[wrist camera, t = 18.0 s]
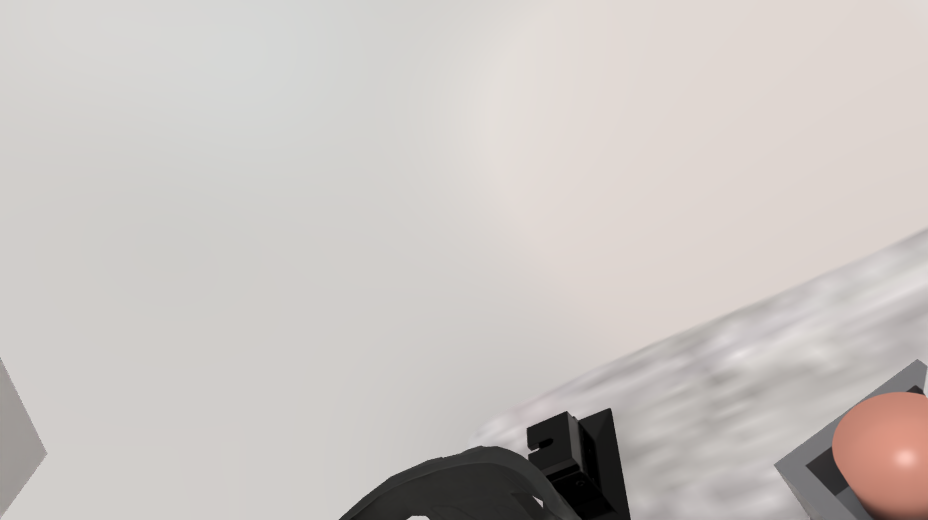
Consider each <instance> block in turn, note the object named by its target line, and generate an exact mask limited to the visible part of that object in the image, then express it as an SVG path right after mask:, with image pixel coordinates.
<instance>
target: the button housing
mask: <svg viewBox="0 0 928 520" xmlns="http://www.w3.org/2000/svg"><path fill="white" fill-rule="evenodd" d="M927 368H928V366H926V365H925V364H924V363H922V362H921V361H919V360H918V359H917V360H916V361H914V362H913V363H911V364H910V365H909V366H907V367H906V368H905V369H903V370H902V371H901V372H899V373H898V374H896V375H895V376H894V377H892V378H891V379H890V380H888V381H887V382H886V383H884V384H883V385H882V386H880V387H879V388H877V389H876V390H875V391H873V392H872V393H871V394H869V395H868V396H867V397H865V398H864V399H863V400H861V401H860V402H858V403H857V404H856V405H858V404H859V403H861V402H863V401H865V400H867V399H869V398H872V397H874V396H877V395H881V394H886V393H892V392H910V393H917V394H921V395H925V394H924V393H923V391H924V385H925V380H926V374H927ZM925 396H926V395H925ZM856 405H854V406H853V407H855V406H856ZM853 407H852V408H853ZM852 408H850V409H849V410H848V411H846V412H845V413H843V414H842V415H841V416H839V417H838V418H837V419H835V420H834V421H833V422H831V423H830V424H829V425H827V426H826V427H824V428H823V429H822V430H820V431H819V432H818V433H816V434H815V435H814V436H812V437H811V438H810V439H808V440H807V441H805V442H804V443H803V444H801V445H800V446H799V447H797V448H796V449H795V450H793V451H792V452H791V453H789V454H788V455H786V456H785V457H784V458H782V459H781V460H780V461H778V462H777V463H776V464H774V466H775V467H776V469H777V470H778V472H779V473H780V475H781V476H782V477H783V479H784V480H785V482H786V483H787V485H788V486H789V488H790V489H791V491H792V492H793V493H794V495H795V496H796V498H797V499H798V501H799V502H800V504H801V505H802V507H803V508H804V509H805V511H806V512H807V514H808V515H809V517H810V518H811V520H874V519H873V518H872V517H870V516H869V514H868V513H867V512H866V511H865V510H864V508H863V507H862V505H861V504H860V502H859V500H858V499H857V497H856V495H855V494H854V492H853V491H852V489H851V487H850V486H849V484H848V483H847V481H846V479H845V478H844V476H843V474H842V473H841V471H840V470H839V468H838V466H837V464H836V462H835V460H834V456H833V451H832V441H833V436H834V433H835V430H836V428H837V426H838V424H839V422H840V421H841V420H842V418H843V417H844V416H845V415H846V414H847V413H848V412H849V411H850V410H851V409H852Z"/></svg>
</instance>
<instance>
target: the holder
mask: <svg viewBox="0 0 928 520" xmlns="http://www.w3.org/2000/svg"><path fill="white" fill-rule="evenodd" d="M533 496H534V497H536V498H538V499H539V500H541V501H543V502H545V503H546V505H547V507H548V508H549V509H550V511H551V512H552V513H553V514H554V515H555V516H556V517H555V516H553V515H551V514H550V513H548V512H546V511H545V510H544V509H543V508H542V507H541V505H540V504H539V503H538V502H537V501H536V500H535V498H534V497H533ZM411 516H427V517H428V518H429V519H430V520H582V519H581V518H580V517H579V516H578V515H577V514H576V513H575V511H574V510H573V509H572V508H571V506H570V505H569V504H568V503H567V502H566V500H565V499H564V498H563V497H562V496H561V495H560V494H559V493H558V492H557V491H556V490H555V489H554V487H553V485H552V484H551V483H550V482H549V480H548V479H547V478H546V477H545V476H544V475H543V473H542V472H541V471H540V470H539V469H538V468H537V467H536V466H534V465H533V464H532V463H531V462H530V461H528V460H527V459H525V458H524V457H523V456H521V455H519V454H517V453H515V452H513V451H511V450H508V449H505V448H501V447H498V446H493V447H484V446H478V447H475V448H472V449H468V450H466V451H464V452H462V453H460V454H456V455H452V456H448V457H444V458H442V457H440V458H435V459H431V460H427V461H425V462H423V463H421V464H419V465H417V466H414V467H412V468H410V469H407V470H405V471H403V472H400V473H398V474H396V475H394V476H392V477H390V478H388V479H387V480H386V481H385V482H383V483H382V484H381V485H379V486H378V487H377V488H375V489H374V490H373V491H371V492H370V493H369V494H367V495H366V496H365V497H363V498H362V499H361V500H360V501H359V502H358V503H357V504H356V505H354V506H353V507H352V508H351V509H350V510H349V511H348V512H347V513H346V514H344V515H343V516H342V517H341V518H340V519H339V520H407V519H408V518H410V517H411Z"/></svg>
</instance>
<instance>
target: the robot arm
mask: <svg viewBox="0 0 928 520" xmlns="http://www.w3.org/2000/svg"><path fill="white" fill-rule="evenodd" d="M923 393H924V394H925V395H926V397H927V398H928V368H927V374H926V380H925V385H924V391H923ZM46 455H47V452H46V450H45V448H44V446H43V444H42V442H41V440H40V438H39V436H38V434H37V432H36V430H35V428H34V426H33V424H32V422H31V419H30V417H29V415H28V413H27V411H26V409H25V407H24V405H23V403H22V401H21V399H20V397H19V395H18V393H17V391H16V389H15V387H14V385H13V383H12V381H11V379H10V377H9V375H8V373H7V370H6V368H5V366H4V364H3V362H2V360H1V358H0V518H1V517H2V516H3V514H4V513H5V511H6V510H7V509H8V507H9V506H10V505H11V503H12V502H13V500H14V499H15V498H16V496H17V495H18V494H19V492H20V491H21V489H22V488H23V487H24V485H25V484H26V483H27V481H28V480H29V478H30V477H31V476H32V474H33V473H34V472H35V470H36V469H37V467H38V466H39V465H40V463H41V462H42V461H43V459H44V458H45V456H46Z"/></svg>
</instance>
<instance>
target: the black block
mask: <svg viewBox="0 0 928 520" xmlns="http://www.w3.org/2000/svg"><path fill="white" fill-rule="evenodd" d="M527 446H528V448H529V449H530V450H531V451H533V450H535V449H537V448H539V450H538V451H536V452H533V453H531V454H528V461H530V462H531V463H532V464H533V465H534V466H536V467H537V468H538V469H539V470H540V471H541V472H542V473H543V475H544V476H545V477H546V478H547V479H548V480H549V482H550V483H551V484H552V485H553V487H554V489H555V490H556V491H557V492H558V493H559V494H560V495H561V496H562V497H563V498H564V499H565V500H566V502H567V503H568V504H569V505H570V506H571V508H572V509H573V510H574V511H575V513H576V514H577V515H578V516H579V517H580V518H581V519H582V520H631V518H630V512H629V507H628V501H627V495H626V490H625V484H624V478H623V473H622V467H621V461H620V456H619V450H618V444H617V439H616V433H615V428H614V422H613V416H612V411H611V409H610V408H608V409H606V410H603V411H601V412H598V413H596V414H593V415H591V416H588V417H586V418H583V419H581V420H577V419H576V418H575V417H574V416H573V417H572V416H571V415H570V414H569V413H568V412H567V411H566V412H563V413H561V414H559V415H556V416H554V417H552V418H549V419H547V420H545V421H542V422H540V423H538V424H535V425H533V426H531V427H528V428H527ZM543 509H544V510H545V511H546V512H548V513H550V514H551V515H553V516H555V515H554V514H553V513H552V512H551V511H550V509H549V508H548V507H547V505H546V503H545V502H543ZM555 517H556V516H555Z"/></svg>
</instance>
